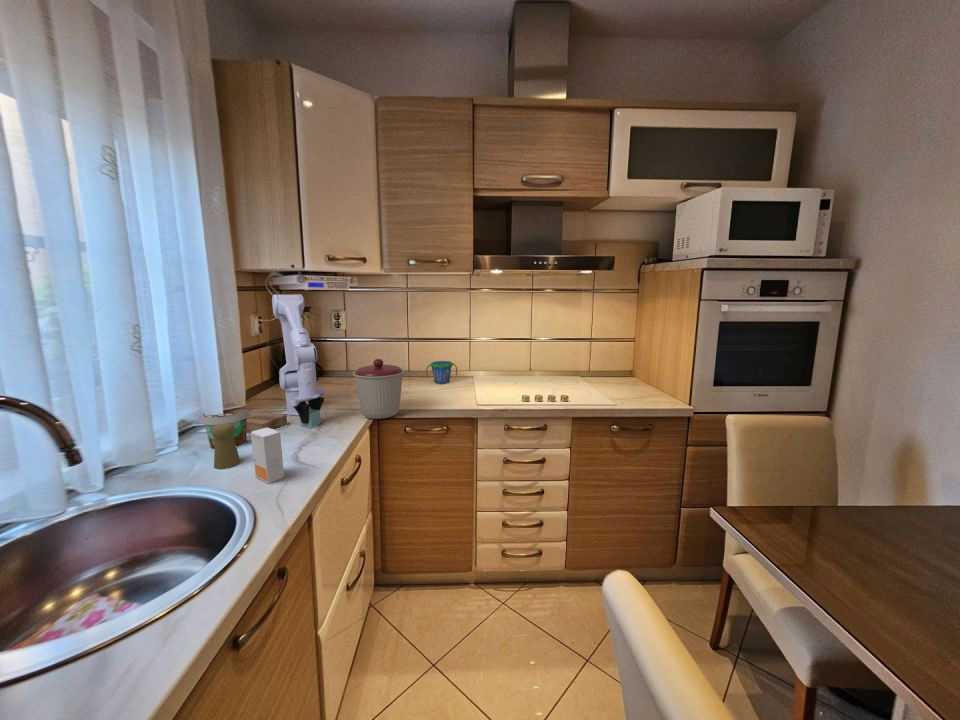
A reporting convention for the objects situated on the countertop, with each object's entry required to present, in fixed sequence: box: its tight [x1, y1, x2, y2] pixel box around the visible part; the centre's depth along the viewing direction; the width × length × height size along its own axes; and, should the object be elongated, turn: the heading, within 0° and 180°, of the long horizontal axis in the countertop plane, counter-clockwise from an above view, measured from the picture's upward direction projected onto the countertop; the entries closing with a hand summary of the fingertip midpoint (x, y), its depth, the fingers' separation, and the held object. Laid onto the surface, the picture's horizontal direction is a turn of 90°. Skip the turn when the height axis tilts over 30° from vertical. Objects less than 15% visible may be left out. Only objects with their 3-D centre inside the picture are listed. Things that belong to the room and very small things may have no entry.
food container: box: [200, 409, 250, 450], centre depth 116 cm, size 12×6×10 cm, turn 105°
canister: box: [352, 358, 405, 420], centre depth 145 cm, size 18×18×21 cm
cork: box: [212, 423, 241, 470], centre depth 104 cm, size 6×6×11 cm
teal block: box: [299, 409, 322, 429], centre depth 135 cm, size 4×4×5 cm
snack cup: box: [425, 360, 458, 385], centre depth 197 cm, size 16×10×10 cm
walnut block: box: [247, 411, 288, 434], centre depth 132 cm, size 10×10×4 cm
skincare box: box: [250, 428, 285, 485], centre depth 96 cm, size 6×4×12 cm
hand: (310, 420), depth 135 cm, fingers closed on teal block, 4 cm apart
